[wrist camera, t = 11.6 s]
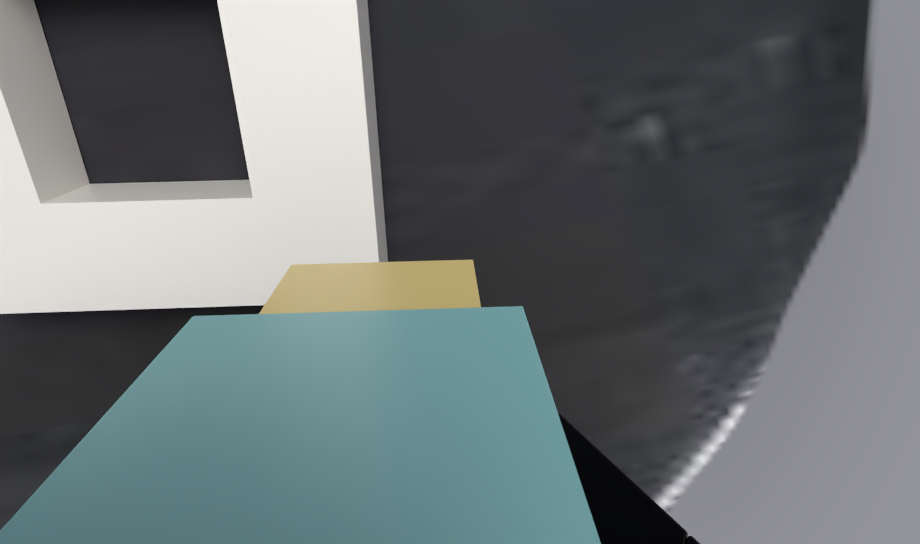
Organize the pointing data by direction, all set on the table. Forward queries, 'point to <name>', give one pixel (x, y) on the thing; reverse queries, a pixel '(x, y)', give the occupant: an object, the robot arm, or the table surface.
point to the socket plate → (196, 202)
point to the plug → (329, 426)
